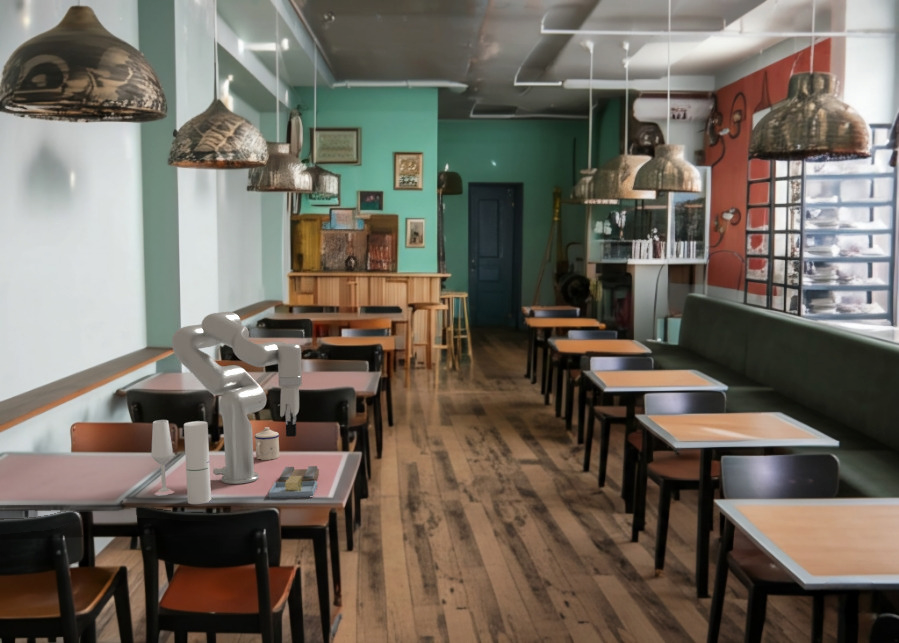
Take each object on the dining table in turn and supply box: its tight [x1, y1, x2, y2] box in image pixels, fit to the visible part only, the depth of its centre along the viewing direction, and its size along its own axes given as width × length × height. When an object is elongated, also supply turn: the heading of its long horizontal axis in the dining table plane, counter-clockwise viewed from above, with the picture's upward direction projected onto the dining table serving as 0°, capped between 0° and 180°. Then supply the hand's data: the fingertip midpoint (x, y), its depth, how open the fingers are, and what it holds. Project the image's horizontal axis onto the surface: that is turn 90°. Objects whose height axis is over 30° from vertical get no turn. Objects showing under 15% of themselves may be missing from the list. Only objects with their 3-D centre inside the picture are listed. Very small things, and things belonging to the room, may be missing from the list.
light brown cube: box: [289, 476, 302, 491], centre depth 281 cm, size 4×4×4 cm
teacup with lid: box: [254, 426, 280, 461], centre depth 325 cm, size 12×9×12 cm
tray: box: [268, 480, 318, 499], centre depth 280 cm, size 14×12×2 cm
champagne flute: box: [151, 419, 174, 492], centre depth 282 cm, size 7×7×24 cm
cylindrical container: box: [183, 420, 212, 505], centre depth 272 cm, size 7×7×25 cm
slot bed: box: [277, 465, 320, 482], centre depth 293 cm, size 12×13×4 cm
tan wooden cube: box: [285, 479, 300, 491], centre depth 277 cm, size 4×4×4 cm
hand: (291, 435), depth 285 cm, fingers closed
